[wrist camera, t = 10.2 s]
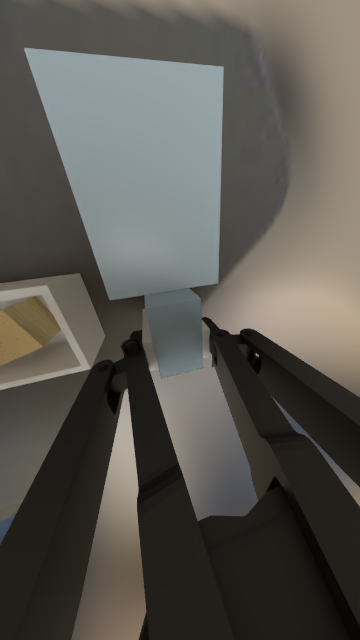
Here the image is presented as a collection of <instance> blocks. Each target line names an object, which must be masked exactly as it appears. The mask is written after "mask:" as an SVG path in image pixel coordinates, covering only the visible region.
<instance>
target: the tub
mask: <svg viewBox="0 0 360 640" xmlns="http://www.w3.org/2000/svg"><path fill="white" fill-rule="evenodd" d="M34 296H36V297H37V298H38V299H39V300H40V301H41V302H42V303H43V304H44V305H45V306H46V307H47V309H48V310H49V311H50V312H51V313H52V314H53V316H54V318H55V319H56V321H57V323H58V325H59V326H60V328H61V330H60V331H59V332H58V333H57V334H56V335H55V336H54V337H53V338H52V339H51V340H50V341H49V342H48V343H47V344H46V345H45V346H44V347H42V348H40V349H37V350H35V351H33V352H31V353H28V354H26V355H24V356H22V357H19V358H17V359H15V360H13V361H10V362H8V363H6V364H4V365H0V390H2V389H7V388H11V387H15V386H20V385H24V384H28V383H33V382H37V381H41V380H46V379H50V378H54V377H59V376H63V375H67V374H72V373H76V372H80V371H85V370H89V369H91V368H92V366H93V363H94V361H95V359H96V356H97V354H98V352H99V349H100V347H101V345H102V342H103V340H104V338H105V334H104V331H103V329H102V326H101V324H100V322H99V319H98V317H97V314H96V312H95V309H94V307H93V304H92V302H91V299H90V297H89V294H88V292H87V289H86V287H85V284H84V282H83V280H82V277H81V275H80V273H77V274H69V275H61V276H53V277H45V278H37V279H30V280H22V281H14V282H6V283H0V311H1V310H3V309H6V308H8V307H10V306H13V305H15V304H17V303H20V302H22V301H24V300H27V299H29V298H31V297H34Z"/></svg>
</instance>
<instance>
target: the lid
mask: <svg viewBox="0 0 360 640" xmlns="http://www.w3.org/2000/svg"><path fill="white" fill-rule="evenodd" d="M24 50H25V53H26V56H27V59H28V62H29V65H30V68H31V71H32V74H33V77H34V80H35V83H36V85H37V88H38V91H39V94H40V97H41V100H42V103H43V106H44V109H45V112H46V115H47V118H48V121H49V124H50V127H51V130H52V133H53V135H54V138H55V141H56V144H57V147H58V150H59V153H60V156H61V159H62V162H63V165H64V168H65V171H66V174H67V177H68V180H69V182H70V185H71V188H72V191H73V194H74V197H75V200H76V203H77V206H78V209H79V212H80V215H81V218H82V221H83V224H84V227H85V230H86V232H87V235H88V238H89V241H90V244H91V247H92V250H93V253H94V256H95V259H96V262H97V265H98V268H99V271H100V274H101V277H102V280H103V282H104V285H105V288H106V291H107V294H108V297H109V300H116V299H122V298H129V297H135V296H141V295H145V310H146V315H147V319H148V324H149V328H150V332H151V337H152V341H153V346H154V350H155V354H156V359H157V363H158V368H159V372H160V376H161V378H166V377H170V376H174V375H178V374H182V373H185V372H190V371H193V370H197V369H201V368H203V343H202V312H201V298H200V297H199V296H198V295H197V294H195V293H194V292H193V291H192V290H191V289H189V288H192V287H198V286H204V285H210V284H217V283H218V275H219V233H220V191H221V149H222V108H223V67H220V66H210V65H199V64H189V63H178V62H168V61H157V60H147V59H136V58H126V57H115V56H105V55H94V54H84V53H73V52H63V51H52V50H42V49H31V48H24Z"/></svg>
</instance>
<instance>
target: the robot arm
mask: <svg viewBox="0 0 360 640" xmlns="http://www.w3.org/2000/svg"><path fill="white" fill-rule="evenodd" d="M202 343H203V358H207V357H210V352H211V354H212V367H214V366H215V369H216V372H217V375H218V378H219V380H220V383H221V386H222V389H223V392H224V394H225V397H226V400H227V403H228V406H229V408H230V411H231V414H232V417H233V420H234V422H235V425H236V428H237V431H238V434H239V437H240V439H241V442H242V445H243V448H244V451H245V454H246V456H247V459H248V462H249V465H250V469H251V476H252V481H253V485H254V488H255V492H256V495H257V498H258V502H257V504H256V505H255V506H254V507H253V508H252V510H251V511H250V512H249V513H248V514H247V515H246V516H242V517H240V516H209V517H207V518H204V519H202V520H200V521H197V518H196V515H195V512H194V509H193V506H192V502H191V499H190V496H189V493H188V490H187V487H186V484H185V480H184V477H183V474H182V471H181V468H180V466H179V463H178V460H177V456H176V453H175V450H174V447H173V444H172V440H171V437H170V434H169V431H168V428H167V424H166V421H165V418H164V415H163V412H162V409H161V405H160V402H159V399H158V396H157V393H156V389H155V386H154V383H153V380H152V377H151V373H150V371H154V370H158V369H159V368H158V363H157V359H156V354H155V350H154V346H153V341H152V337H151V332H150V328H149V324H148V319H147V315H146V310H145V309H143V327H142V330H139V331H134V332H133V333H132V334H131V336H130V339H128V340H126V341H125V342H123V343H122V345H121V348H122V351H123V354H124V358H123V359H121V360H119V361H117V362H115V363H113V362H112V361H111V360H104V361H101V362H99V363H97V364H96V365H95V366H94V367H93V368H92V369H91V371H90V373H89V375H88V377H87V379H86V381H85V383H84V385H83V387H82V389H81V391H80V392H79V394H78V396H77V398H76V400H75V402H74V404H73V406H72V408H71V410H70V412H69V414H68V416H67V417H66V419H65V421H64V423H63V425H62V427H61V429H60V431H59V433H58V435H57V437H56V439H55V441H54V442H53V444H52V446H51V448H50V450H49V452H48V454H47V456H46V458H45V460H44V462H43V464H42V466H41V468H40V469H39V471H38V473H37V475H36V477H35V479H34V481H33V483H32V485H31V487H30V489H29V491H28V493H27V494H26V496H25V498H24V500H23V502H22V504H21V506H20V508H19V510H18V512H17V514H16V516H15V518H14V520H13V521H12V523H11V526H10V527H9V529H8V531H7V533H6V535H5V537H4V539H3V541H2V543H1V545H0V640H71V637H72V633H73V629H74V625H75V621H76V616H77V612H78V608H79V604H80V599H81V595H82V590H83V585H84V581H85V576H86V571H87V567H88V562H89V557H90V552H91V547H92V543H93V538H94V533H95V528H96V524H97V519H98V514H99V509H100V504H101V499H102V495H103V490H104V485H105V480H106V476H107V470H108V465H109V461H110V456H111V452H112V447H113V442H114V437H115V433H116V428H117V423H118V418H119V414H120V408H121V404H122V398H123V394H124V390H125V389H127V388H128V394H129V402H130V412H131V421H132V429H133V438H134V448H135V457H136V467H137V475H138V486H139V492H138V497H137V512H138V525H139V536H140V546H141V556H142V568H143V577H144V589H145V599H146V610H147V611H146V615H145V618H144V622H143V626H142V629H141V633H140V637H139V640H360V507H359V505H358V504H357V503H356V501H355V500H354V498H353V497H352V496H351V494H350V493H349V492H348V490H347V489H346V488H345V486H344V485H343V484H342V482H341V481H340V479H339V478H338V476H337V475H336V474H335V472H334V471H333V469H332V468H331V467H330V465H329V464H328V462H327V461H326V460H325V458H324V457H323V455H322V454H321V453H320V451H319V450H318V449H317V447H316V446H315V445H314V444H313V443H312V441H311V440H310V439H309V438H307V437H306V436H305V435H302V434H299V433H297V432H296V431H295V430H294V429H293V428H292V426H291V425H290V423H289V422H288V420H287V419H286V417H285V416H284V414H283V413H282V412H281V410H280V408H279V407H278V405H277V404H276V402H275V401H274V400H273V398H274V399H275V400H276V401H277V402H278V403H279V404H280V405H281V406H282V407H283V408H284V409H285V410H286V411H287V413H289V415H290V416H291V417H292V418H293V419H294V420H295V421H296V422H297V423H298V424H299V425H300V426H301V427H302V428H303V429H304V430H305V431H306V432H307V433H308V434H309V435H310V437H311V438H312V439H313V440H314V441H315V442H316V443H317V444H318V445H319V446H320V447H321V448H322V449H323V450H324V451H325V452H326V453H327V454H328V455H329V456H330V457H331V458H332V459H333V460H334V462H335V463H336V464H337V465H338V466H339V467H340V468H341V469H342V470H343V471H344V472H345V473H346V474H347V475H348V476H349V477H350V478H351V479H352V480H353V481H354V482H355V483H356V484H357V485H358V486H359V487H360V397H358V396H356V395H355V394H353V393H352V392H350V391H349V390H347V389H346V388H344V387H342V386H341V385H339V384H338V383H336V382H335V381H333V380H332V379H330V378H328V377H327V376H325V375H324V374H322V373H321V372H319V371H318V370H316V369H315V368H313V367H312V366H310V365H308V364H307V363H305V362H304V361H302V360H301V359H299V358H298V357H296V356H294V355H293V354H291V353H290V352H288V351H287V350H285V349H284V348H282V347H281V346H279V345H277V344H276V343H274V342H273V341H271V340H270V339H268V338H267V337H265V336H263V335H262V334H260V333H259V332H257V331H255V330H253V329H243V330H241V331H240V335H231V334H230V333H229V332H228V331H226V330H222V329H219V328H218V327H217V326H216V325H215V324H214V322H212V321H211V319H209V318H207V317H204V318H202ZM256 353H257V354H258V355H259V357H257V356H256ZM271 396H272V397H273V398H272V397H271Z"/></svg>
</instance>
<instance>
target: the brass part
mask: <svg viewBox="0 0 360 640" xmlns="http://www.w3.org/2000/svg"><path fill="white" fill-rule="evenodd" d="M60 330H61V328H60V326H59V325H58V323H57V321H56V319H55V318H54V316H53V314H52V313H51V312H50V311H49V310H48V309H47V307H46V306H45V305H44V304H43V303H42V302H41V301H40V300H39V299H38V298H37V297H36V296H34V297H31V298H29V299H27V300H24V301H22V302H20V303H17V304H15V305H13V306H10V307H8V308H6V309H3V310H1V311H0V365H4V364H6V363H8V362H10V361H13V360H15V359H17V358H19V357H22V356H24V355H26V354H28V353H31V352H33V351H35V350H37V349H40V348H42V347H44V346H45V345H46V344H47V343H48V342H49V341H50V340H51V339H52V338H53V337H54V336H55V335H56V334H57V333H58V332H59V331H60Z"/></svg>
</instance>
